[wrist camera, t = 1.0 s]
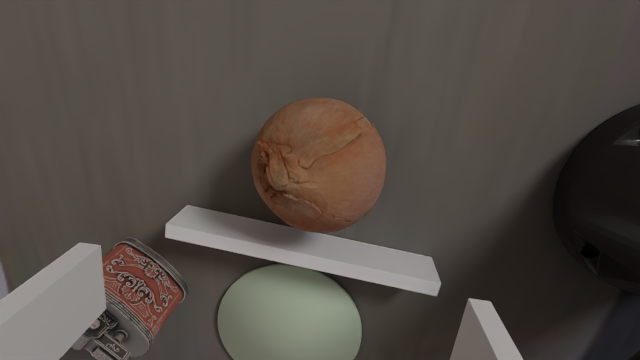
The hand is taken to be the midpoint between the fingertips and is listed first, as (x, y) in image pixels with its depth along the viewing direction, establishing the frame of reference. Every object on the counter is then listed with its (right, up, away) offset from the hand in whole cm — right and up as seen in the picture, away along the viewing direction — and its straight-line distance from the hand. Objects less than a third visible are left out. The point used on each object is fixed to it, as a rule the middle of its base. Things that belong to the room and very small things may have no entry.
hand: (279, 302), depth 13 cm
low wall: (0, -1, +20) cm, 20 cm away
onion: (+2, +7, +17) cm, 19 cm away
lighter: (-14, -4, +23) cm, 27 cm away
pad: (-2, -10, +23) cm, 25 cm away
